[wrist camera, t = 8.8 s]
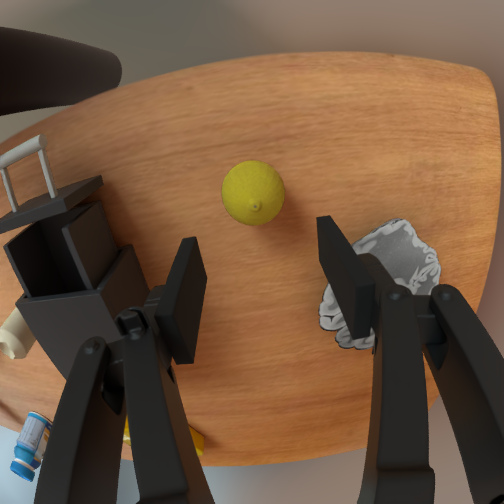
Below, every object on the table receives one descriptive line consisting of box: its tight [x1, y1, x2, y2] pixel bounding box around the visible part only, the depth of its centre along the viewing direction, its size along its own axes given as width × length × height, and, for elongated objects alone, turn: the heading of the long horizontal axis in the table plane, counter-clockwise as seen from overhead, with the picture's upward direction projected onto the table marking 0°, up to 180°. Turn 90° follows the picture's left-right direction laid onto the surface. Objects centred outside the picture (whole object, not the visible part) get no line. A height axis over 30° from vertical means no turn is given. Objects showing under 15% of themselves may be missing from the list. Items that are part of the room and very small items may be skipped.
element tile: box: [123, 417, 204, 456], centre depth 50 cm, size 15×15×5 cm
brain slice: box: [319, 218, 441, 350], centre depth 35 cm, size 20×17×3 cm
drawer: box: [0, 134, 119, 298], centre depth 26 cm, size 20×12×8 cm, turn 9°
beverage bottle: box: [10, 412, 52, 482], centre depth 47 cm, size 8×8×20 cm
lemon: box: [222, 160, 285, 226], centre depth 26 cm, size 6×6×8 cm
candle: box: [0, 307, 36, 359], centre depth 33 cm, size 6×6×10 cm
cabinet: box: [15, 245, 150, 381], centre depth 32 cm, size 15×13×10 cm
